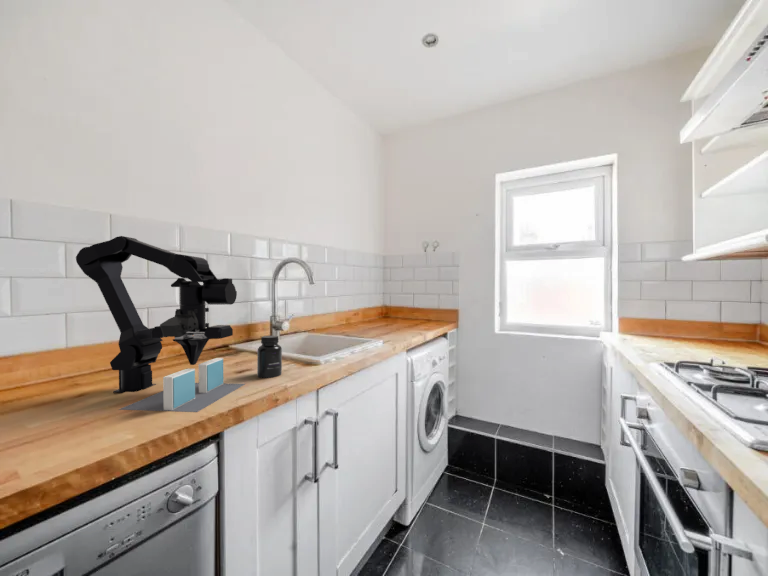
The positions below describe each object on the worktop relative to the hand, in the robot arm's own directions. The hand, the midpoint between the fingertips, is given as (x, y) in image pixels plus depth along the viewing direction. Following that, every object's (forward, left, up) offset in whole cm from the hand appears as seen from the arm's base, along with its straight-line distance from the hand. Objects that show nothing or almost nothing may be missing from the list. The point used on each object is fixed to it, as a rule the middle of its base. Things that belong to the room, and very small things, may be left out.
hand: (193, 364), depth 82 cm
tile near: (+5, -11, -6) cm, 14 cm away
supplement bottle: (+15, +13, -7) cm, 21 cm away
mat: (+3, -5, -7) cm, 9 cm away
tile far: (+5, 0, -6) cm, 8 cm away
